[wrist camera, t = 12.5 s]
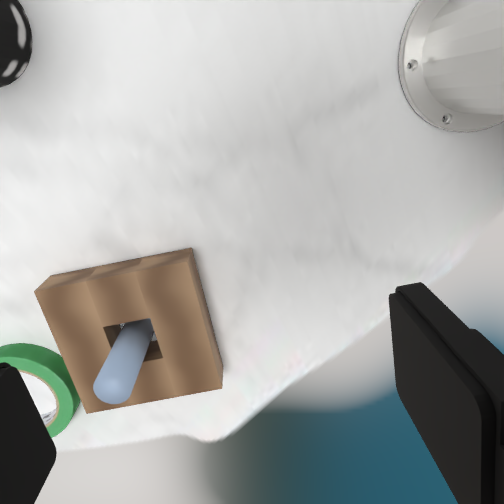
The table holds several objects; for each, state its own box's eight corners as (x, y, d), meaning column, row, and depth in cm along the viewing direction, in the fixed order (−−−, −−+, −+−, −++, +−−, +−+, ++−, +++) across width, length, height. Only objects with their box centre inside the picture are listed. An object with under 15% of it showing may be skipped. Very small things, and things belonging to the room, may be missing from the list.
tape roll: (10, 436, 46) (-2, 455, 44) (-44, 359, 42) (-62, 376, 40) (99, 409, 45) (92, 427, 43) (52, 328, 42) (40, 343, 39)
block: (191, 247, 39) (187, 261, 35) (223, 366, 44) (222, 388, 40) (50, 275, 39) (33, 291, 36) (97, 390, 44) (86, 413, 41)
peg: (150, 308, 41) (124, 369, 31) (159, 334, 42) (136, 400, 33) (122, 314, 41) (87, 377, 32) (131, 339, 42) (100, 407, 33)
